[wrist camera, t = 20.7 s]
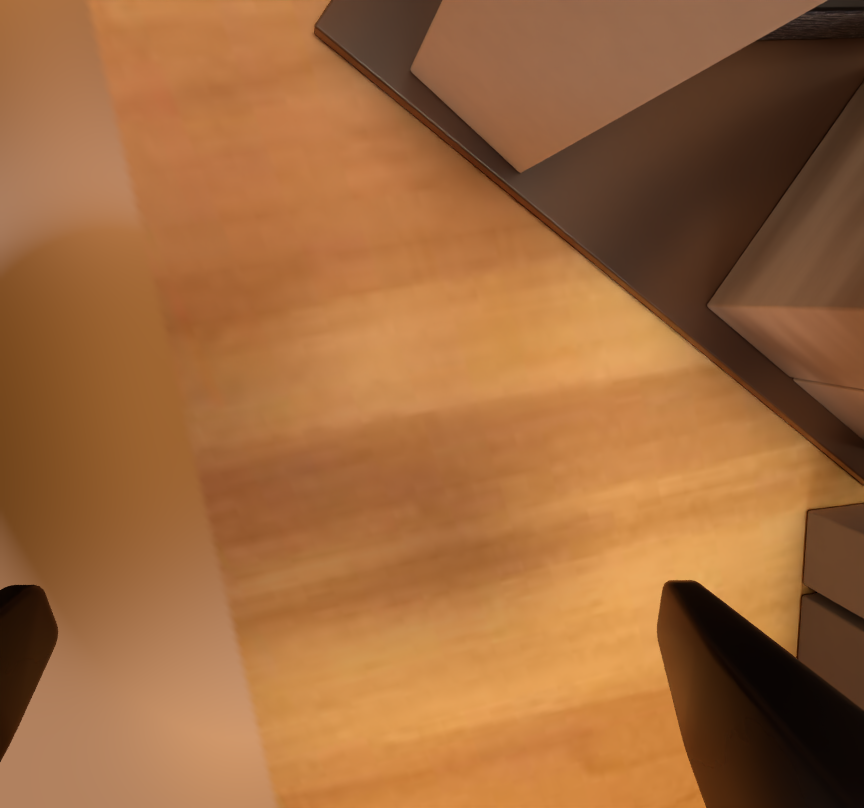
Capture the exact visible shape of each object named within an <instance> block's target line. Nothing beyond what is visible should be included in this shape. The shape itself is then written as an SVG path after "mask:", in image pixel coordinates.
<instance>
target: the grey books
mask: <svg viewBox="0 0 864 808" xmlns="http://www.w3.org/2000/svg"><path fill="white" fill-rule="evenodd" d="M803 583H804V585H806V586H808V587H809V588H811V589H813V590H815V591H816V592H818V593H815V594H809V595H803V596H802V607H801V622H800V637H799V652H798V660H799V661H801V662H802V663H803V664H805V665H806V666H807V667H809V668H810V669H811V670H812V671H814V672H815V673H816V674H818V675H819V676H820V677H821V678H823V679H824V680H825V681H827V682H828V683H829V684H831V685H832V686H833V687H834V688H836V689H837V690H838V691H840V692H841V693H842V694H844V695H845V696H846V697H847V698H849V699H850V700H851V701H853V702H854V703H855V704H856V705H858V706H859V707H860V708H862V709H863V710H864V504H857V505H849V506H841V507H834V508H826V509H818V510H810V511H809V512H808V521H807V536H806V551H805V566H804V581H803Z"/></svg>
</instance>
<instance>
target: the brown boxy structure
mask: <svg viewBox="0 0 864 808" xmlns="http://www.w3.org/2000/svg"><path fill="white" fill-rule="evenodd" d="M441 2H442V0H331V1H330V3H329V4H328V6H327V7H326V9H325V10H324V12H323V13H322V15H321V16H320V18H319V19H318V21H317V22H316V23H315V26H314V33H315V34H316V35H317V36H318V37H319V38H320V39H322V40H323V41H324V42H325V43H326V44H328V45H329V46H330V47H331V48H333V49H334V50H335V51H336V52H337V53H339V54H340V55H341V56H342V57H343V58H345V59H346V60H347V61H348V62H350V63H351V64H352V65H353V66H354V67H356V68H357V69H358V70H359V71H361V72H362V73H363V74H364V75H365V76H367V77H368V78H369V79H370V80H371V81H373V82H374V83H375V84H376V85H378V86H379V87H380V88H381V89H382V90H384V91H385V92H386V93H387V94H388V95H390V96H391V97H392V98H393V99H395V100H396V101H397V102H398V103H399V104H401V105H402V106H403V107H404V108H406V109H407V110H408V111H409V112H410V113H412V114H413V115H414V116H415V117H416V118H418V119H419V120H420V121H421V122H423V123H424V124H425V125H426V126H427V127H429V128H430V129H431V130H432V131H433V132H435V133H436V134H437V135H438V136H440V137H441V138H442V139H443V140H444V141H446V142H447V143H448V144H449V145H451V146H452V147H453V148H454V149H455V150H457V151H458V152H459V153H460V154H461V155H463V156H464V157H465V158H466V159H468V160H469V161H470V162H471V163H472V164H474V165H475V166H476V167H477V168H478V169H480V170H481V171H482V172H483V173H485V174H486V175H487V176H488V177H489V178H491V179H492V180H493V181H494V182H495V183H497V184H498V185H499V186H500V187H502V188H503V189H504V190H505V191H506V192H508V193H509V194H510V195H511V196H513V197H514V198H515V199H516V200H517V201H519V202H520V203H521V204H522V205H523V206H525V207H526V208H527V209H528V210H530V211H531V212H532V213H533V214H534V215H536V216H537V217H538V218H539V219H540V220H542V221H543V222H544V223H545V224H547V225H548V226H549V227H550V228H551V229H553V230H554V231H555V232H556V233H558V234H559V235H560V236H561V237H562V238H564V239H565V240H566V241H567V242H568V243H570V244H571V245H572V246H573V247H575V248H576V249H577V250H578V251H579V252H581V253H582V254H583V255H584V256H585V257H587V258H588V259H589V260H590V261H592V262H593V263H594V264H595V265H596V266H598V267H599V268H600V269H601V270H603V271H604V272H605V273H606V274H607V275H609V276H610V277H611V278H612V279H613V280H615V281H616V282H617V283H618V284H620V285H621V286H622V287H623V288H624V289H626V290H627V291H628V292H629V293H630V294H632V295H633V296H634V297H635V298H637V299H638V300H639V301H640V302H641V303H643V304H644V305H645V306H646V307H648V308H649V309H650V310H651V311H652V312H654V313H655V314H656V315H657V316H658V317H660V318H661V319H662V320H663V321H665V322H666V323H667V324H668V325H669V326H671V327H672V328H673V329H674V330H675V331H677V332H678V333H679V334H680V335H682V336H683V337H684V338H685V339H686V340H688V341H689V342H690V343H691V344H692V345H694V346H695V347H696V348H697V349H699V350H700V351H701V352H702V353H703V354H705V355H706V356H707V357H708V358H710V359H711V360H712V361H713V362H714V363H716V364H717V365H718V366H719V367H720V368H722V369H723V370H724V371H725V372H727V373H728V374H729V375H730V376H731V377H733V378H734V379H735V380H736V381H737V382H739V383H740V384H741V385H742V386H744V387H745V388H746V389H747V390H748V391H750V392H751V393H752V394H753V395H755V396H756V397H757V398H758V399H759V400H761V401H762V402H763V403H764V404H765V405H767V406H768V407H769V408H770V409H772V410H773V411H774V412H775V413H776V414H778V415H779V416H780V417H781V418H782V419H784V420H785V421H786V422H787V423H789V424H790V425H791V426H792V427H793V428H795V429H796V430H797V431H798V432H800V433H801V434H802V435H803V436H804V437H806V438H807V439H808V440H809V441H810V442H812V443H813V444H814V445H815V446H817V447H818V448H819V449H820V450H821V451H823V452H824V453H825V454H826V455H827V456H829V457H830V458H831V459H832V460H834V461H835V462H836V463H837V464H838V465H840V466H841V467H842V468H843V469H845V470H846V471H847V472H848V473H849V474H851V475H852V476H853V477H854V478H855V479H857V480H858V481H859V482H860V483H862V484H863V485H864V38H822V39H780V40H756V41H754V42H753V43H751V44H749V45H747V46H746V47H744V48H742V49H740V50H738V51H737V52H735V53H733V54H731V55H730V56H728V57H726V58H724V59H722V60H721V61H719V62H717V63H715V64H714V65H712V66H710V67H708V68H707V69H705V70H703V71H701V72H699V73H698V74H696V75H694V76H692V77H691V78H689V79H687V80H685V81H683V82H682V83H680V84H678V85H676V86H675V87H673V88H671V89H669V90H667V91H666V92H664V93H662V94H660V95H659V96H657V97H655V98H653V99H651V100H650V101H648V102H646V103H644V104H643V105H641V106H639V107H637V108H636V109H634V110H632V111H630V112H628V113H627V114H625V115H623V116H621V117H620V118H618V119H616V120H614V121H612V122H611V123H609V124H607V125H605V126H604V127H602V128H600V129H598V130H596V131H595V132H593V133H591V134H589V135H588V136H586V137H584V138H582V139H581V140H579V141H577V142H575V143H573V144H572V145H570V146H568V147H566V148H565V149H563V150H561V151H559V152H557V153H556V154H554V155H552V156H550V157H549V158H547V159H545V160H543V161H541V162H540V163H538V164H536V165H534V166H533V167H531V168H529V169H527V170H525V171H524V172H522V173H520V172H518V171H517V170H516V169H515V168H514V167H513V166H512V165H511V164H510V163H509V162H507V161H506V160H505V159H504V158H503V157H502V156H501V155H500V154H499V153H498V152H497V151H496V150H495V149H493V148H492V147H491V146H490V145H489V144H488V143H487V142H486V141H485V140H484V139H483V138H482V137H481V136H480V135H478V134H477V133H476V132H475V131H474V130H473V129H472V128H471V127H470V126H469V125H468V124H467V123H466V122H464V121H463V120H462V119H461V118H460V117H459V116H458V115H457V114H456V113H455V112H454V111H453V110H452V109H451V108H449V107H448V106H447V105H446V104H445V103H444V102H443V101H442V100H441V99H440V98H439V97H438V96H437V95H436V94H434V93H433V92H432V91H431V90H430V89H429V88H428V87H427V86H426V85H425V84H424V83H423V82H422V81H420V80H419V79H418V78H417V77H416V76H415V75H414V74H413V73H412V72H411V70H410V69H411V66H412V64H413V62H414V59H415V57H416V55H417V53H418V51H419V49H420V47H421V45H422V43H423V40H424V38H425V36H426V34H427V32H428V30H429V28H430V26H431V23H432V21H433V19H434V17H435V15H436V13H437V11H438V9H439V7H440V4H441Z"/></svg>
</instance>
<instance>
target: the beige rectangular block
mask: <svg viewBox="0 0 864 808" xmlns="http://www.w3.org/2000/svg"><path fill="white" fill-rule="evenodd" d="M825 1H827V0H442V2H441V4H440V7H439V9H438V11H437V13H436V15H435V17H434V19H433V21H432V23H431V26H430V28H429V30H428V32H427V34H426V36H425V38H424V40H423V43H422V45H421V47H420V49H419V51H418V53H417V55H416V57H415V59H414V62H413V64H412V66H411V69H410V70H411V72H412V73H413V74H414V75H415V76H416V77H417V78H418V79H419V80H420V81H422V82H423V83H424V84H425V85H426V86H427V87H428V88H429V89H430V90H431V91H432V92H433V93H434V94H436V95H437V96H438V97H439V98H440V99H441V100H442V101H443V102H444V103H445V104H446V105H447V106H448V107H449V108H451V109H452V110H453V111H454V112H455V113H456V114H457V115H458V116H459V117H460V118H461V119H462V120H463V121H464V122H466V123H467V124H468V125H469V126H470V127H471V128H472V129H473V130H474V131H475V132H476V133H477V134H478V135H480V136H481V137H482V138H483V139H484V140H485V141H486V142H487V143H488V144H489V145H490V146H491V147H492V148H493V149H495V150H496V151H497V152H498V153H499V154H500V155H501V156H502V157H503V158H504V159H505V160H506V161H507V162H509V163H510V164H511V165H512V166H513V167H514V168H515V169H516V170H517V171H518V172H520V173H522V172H524V171H525V170H527V169H529V168H531V167H533V166H534V165H536V164H538V163H540V162H541V161H543V160H545V159H547V158H549V157H550V156H552V155H554V154H556V153H557V152H559V151H561V150H563V149H565V148H566V147H568V146H570V145H572V144H573V143H575V142H577V141H579V140H581V139H582V138H584V137H586V136H588V135H589V134H591V133H593V132H595V131H596V130H598V129H600V128H602V127H604V126H605V125H607V124H609V123H611V122H612V121H614V120H616V119H618V118H620V117H621V116H623V115H625V114H627V113H628V112H630V111H632V110H634V109H636V108H637V107H639V106H641V105H643V104H644V103H646V102H648V101H650V100H651V99H653V98H655V97H657V96H659V95H660V94H662V93H664V92H666V91H667V90H669V89H671V88H673V87H675V86H676V85H678V84H680V83H682V82H683V81H685V80H687V79H689V78H691V77H692V76H694V75H696V74H698V73H699V72H701V71H703V70H705V69H707V68H708V67H710V66H712V65H714V64H715V63H717V62H719V61H721V60H722V59H724V58H726V57H728V56H730V55H731V54H733V53H735V52H737V51H738V50H740V49H742V48H744V47H746V46H747V45H749V44H751V43H753V42H754V41H756V40H758V39H760V38H762V37H763V36H765V35H767V34H769V33H770V32H772V31H774V30H776V29H777V28H779V27H781V26H783V25H785V24H786V23H788V22H790V21H792V20H793V19H795V18H797V17H799V16H801V15H802V14H804V13H806V12H808V11H809V10H811V9H813V8H815V7H817V6H818V5H820V4H822V3H824V2H825Z"/></svg>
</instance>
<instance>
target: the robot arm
mask: <svg viewBox="0 0 864 808" xmlns="http://www.w3.org/2000/svg"><path fill="white" fill-rule="evenodd" d="M657 636H658V642H659V647H660V651H661V655H662V659H663V663H664V667H665V671H666V675H667V679H668V683H669V687H670V691H671V695H672V699H673V703H674V707H675V711H676V715H677V719H678V723H679V727H680V731H681V735H682V738H683V742H684V746H685V749H686V752H687V755H688V758H689V761H690V764H691V767H692V770H693V773H694V775H695V778H696V781H697V783H698V786H699V789H700V792H701V794H702V797H703V800H704V803H705V805H706V808H864V710H863V709H862V708H860V707H859V706H858V705H856V704H855V703H854V702H853V701H851V700H850V699H849V698H847V697H846V696H845V695H844V694H842V693H841V692H840V691H838V690H837V689H836V688H834V687H833V686H832V685H831V684H829V683H828V682H827V681H825V680H824V679H823V678H821V677H820V676H819V675H818V674H816V673H815V672H814V671H812V670H811V669H810V668H809V667H807V666H806V665H805V664H803V663H802V662H801V661H799V660H798V659H797V658H796V657H794V656H793V655H792V654H790V653H789V652H788V651H786V650H785V649H784V648H783V647H781V646H780V645H779V644H777V643H776V642H775V641H774V640H772V639H771V638H770V637H768V636H767V635H766V634H764V633H763V632H762V631H761V630H759V629H758V628H757V627H755V626H754V625H753V624H751V623H750V622H749V621H748V620H746V619H745V618H744V617H742V616H741V615H740V614H739V613H737V612H736V611H735V610H733V609H732V608H731V607H729V606H728V605H727V604H726V603H724V602H723V601H722V600H720V599H719V598H718V597H716V596H715V595H714V594H713V593H711V592H710V591H709V590H707V589H706V588H705V587H704V586H702V585H701V584H699V583H698V582H696V581H692V580H670V581H668V582H666V583H665V584H664V586H663V590H662V596H661V602H660V609H659V616H658V622H657ZM57 637H58V627H57V624H56V621H55V618H54V616H53V613H52V611H51V608H50V605H49V602H48V600H47V597H46V595H45V592H44V590H43V589H42V588H40V587H39V586H36V585H12V586H8V587H5V588H3V589H1V590H0V762H1V760H2V758H3V756H4V754H5V752H6V750H7V748H8V747H9V745H10V743H11V741H12V739H13V736H14V734H15V732H16V730H17V728H18V726H19V724H20V722H21V720H22V717H23V715H24V713H25V711H26V709H27V706H28V704H29V702H30V700H31V698H32V695H33V693H34V691H35V689H36V687H37V685H38V682H39V680H40V678H41V676H42V673H43V671H44V669H45V667H46V665H47V663H48V660H49V658H50V656H51V654H52V652H53V649H54V647H55V645H56V641H57Z"/></svg>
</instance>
